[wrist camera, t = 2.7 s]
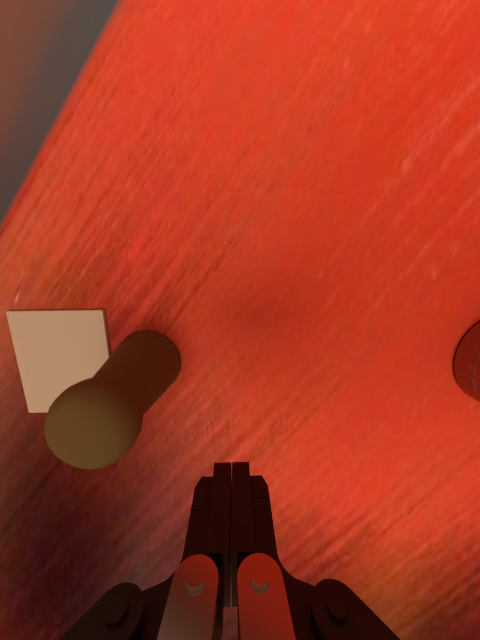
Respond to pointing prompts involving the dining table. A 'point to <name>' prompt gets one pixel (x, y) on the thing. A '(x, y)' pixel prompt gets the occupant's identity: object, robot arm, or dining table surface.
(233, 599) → the robot arm
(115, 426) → the cork
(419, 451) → the dining table surface
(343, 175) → the dining table surface
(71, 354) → the mat
